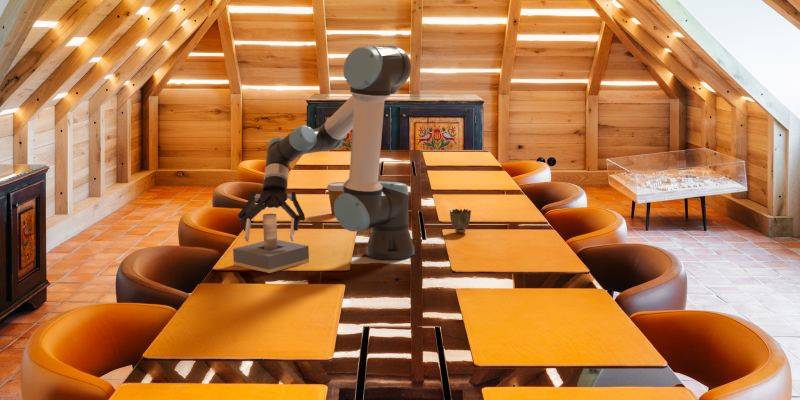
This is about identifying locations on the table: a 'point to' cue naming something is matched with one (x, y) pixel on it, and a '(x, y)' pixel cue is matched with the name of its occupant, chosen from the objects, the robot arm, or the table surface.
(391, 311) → the table surface
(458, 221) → the cup
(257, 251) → the socket block
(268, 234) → the birch peg
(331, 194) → the disposable coffee cup
